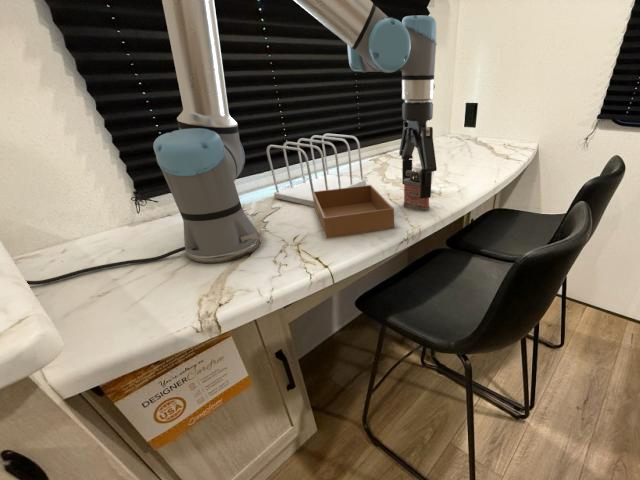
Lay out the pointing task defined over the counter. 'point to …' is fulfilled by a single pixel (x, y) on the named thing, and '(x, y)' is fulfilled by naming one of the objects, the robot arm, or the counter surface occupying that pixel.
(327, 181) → the file sorter
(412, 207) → the lighter
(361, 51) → the robot arm
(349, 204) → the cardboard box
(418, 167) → the cup
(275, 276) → the counter surface
